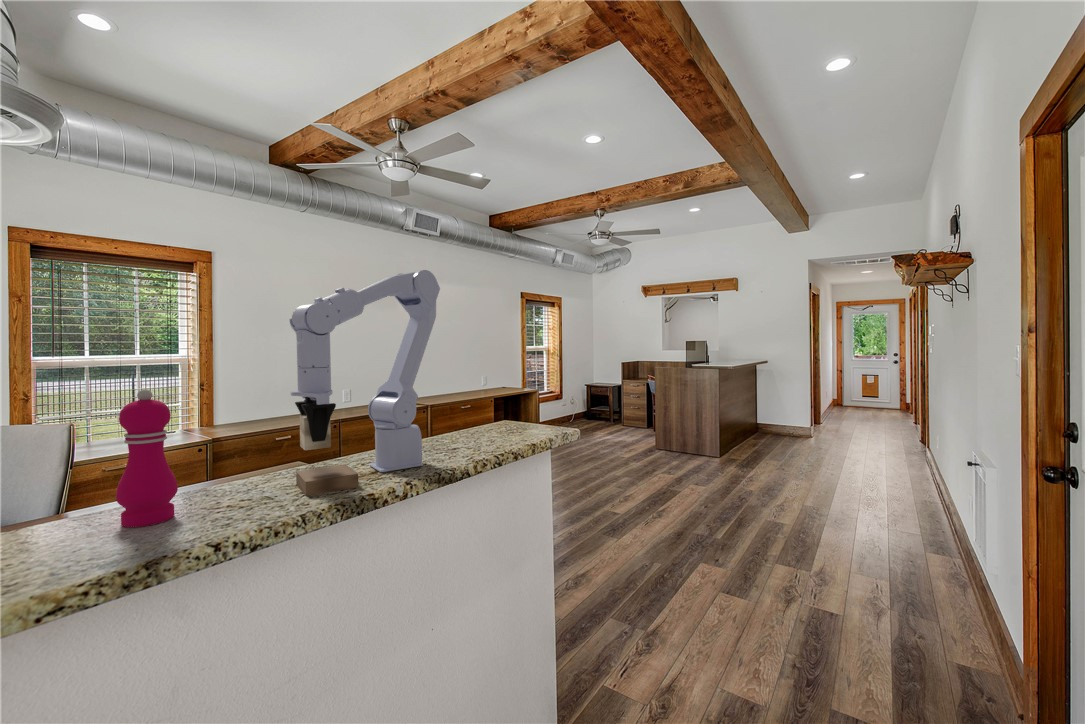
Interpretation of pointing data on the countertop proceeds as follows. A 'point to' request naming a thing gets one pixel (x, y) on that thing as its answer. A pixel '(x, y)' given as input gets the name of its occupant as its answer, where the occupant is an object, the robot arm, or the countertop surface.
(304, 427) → the ash block
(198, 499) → the countertop surface
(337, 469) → the walnut block
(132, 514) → the pepper mill
